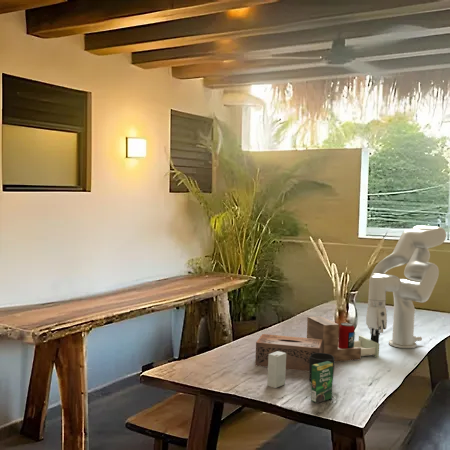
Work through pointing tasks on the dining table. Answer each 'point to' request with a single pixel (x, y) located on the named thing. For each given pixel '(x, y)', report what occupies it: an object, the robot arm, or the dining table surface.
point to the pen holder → (319, 361)
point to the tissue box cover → (287, 350)
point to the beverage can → (346, 335)
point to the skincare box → (276, 369)
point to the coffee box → (321, 381)
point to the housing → (330, 339)
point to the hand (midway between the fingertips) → (374, 343)
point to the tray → (366, 346)
